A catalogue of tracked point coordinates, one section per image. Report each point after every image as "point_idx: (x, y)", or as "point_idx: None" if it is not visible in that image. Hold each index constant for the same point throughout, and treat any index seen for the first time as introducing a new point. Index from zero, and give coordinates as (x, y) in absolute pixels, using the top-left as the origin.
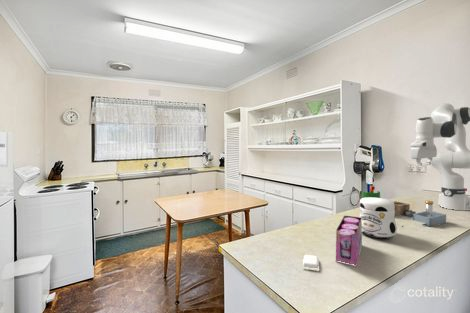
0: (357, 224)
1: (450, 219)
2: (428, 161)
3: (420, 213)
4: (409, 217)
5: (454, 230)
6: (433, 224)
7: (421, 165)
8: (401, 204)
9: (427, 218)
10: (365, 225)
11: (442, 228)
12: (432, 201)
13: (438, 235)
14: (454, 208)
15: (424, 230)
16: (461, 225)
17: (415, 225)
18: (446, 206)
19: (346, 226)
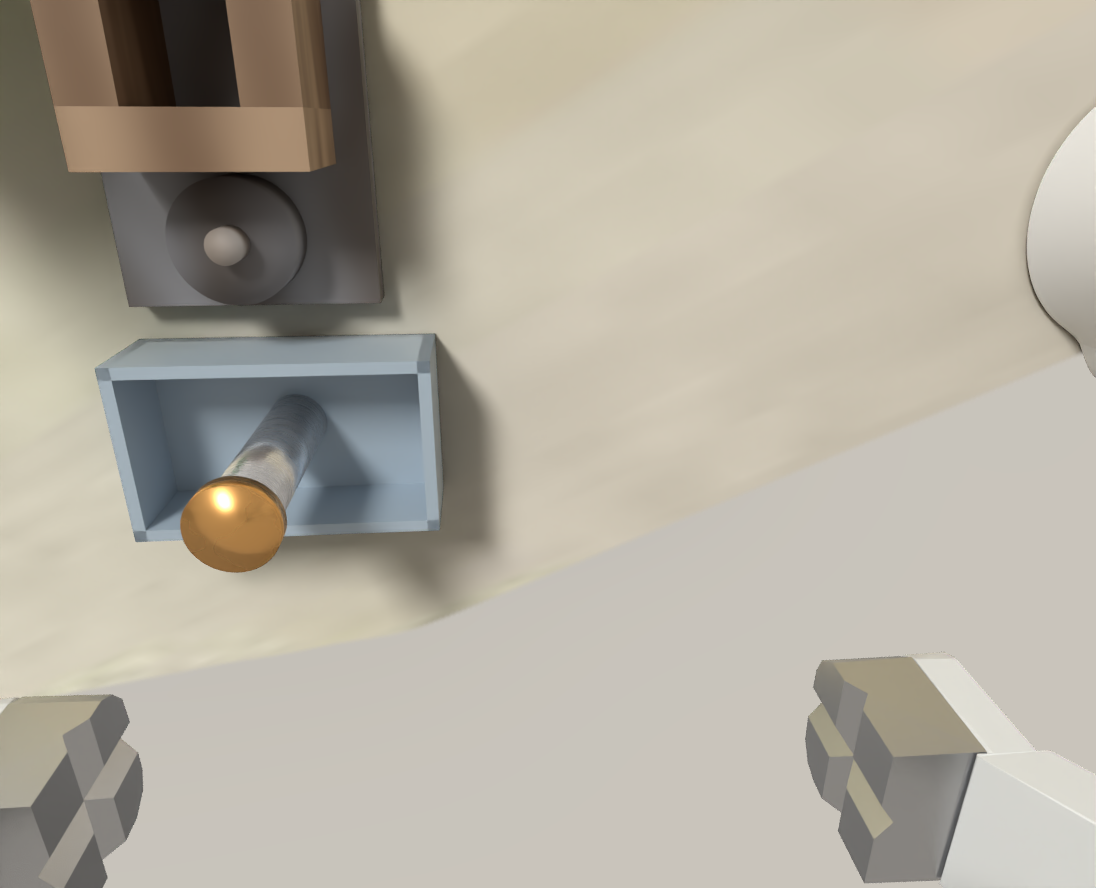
0: None
1: (597, 449)
2: (988, 811)
3: (241, 374)
4: (168, 277)
5: (290, 617)
6: None
7: (125, 803)
8: (168, 120)
9: (133, 514)
10: None
11: None
12: (267, 551)
13: (39, 632)
14: (1047, 287)
15: (30, 527)
16: (486, 576)
17: (72, 413)
18: (1058, 210)
19: None
